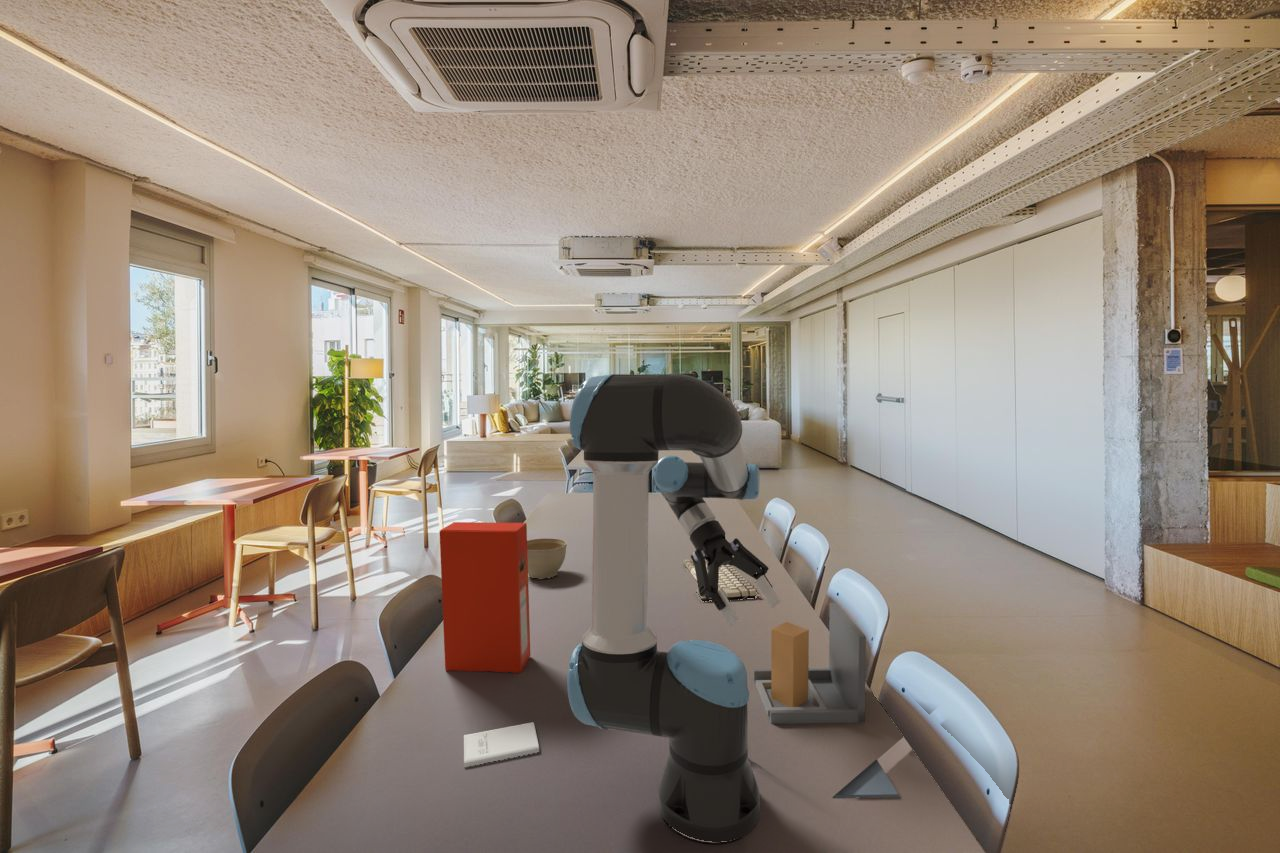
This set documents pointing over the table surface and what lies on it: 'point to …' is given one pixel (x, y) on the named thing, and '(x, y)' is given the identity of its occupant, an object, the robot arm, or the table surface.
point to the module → (789, 664)
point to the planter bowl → (545, 556)
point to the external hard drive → (500, 744)
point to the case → (827, 680)
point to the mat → (869, 784)
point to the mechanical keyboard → (727, 582)
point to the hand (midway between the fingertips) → (756, 613)
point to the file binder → (485, 596)
